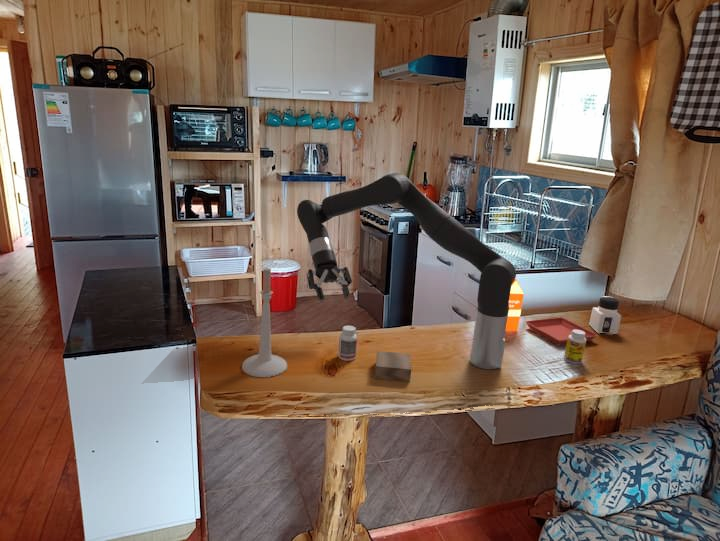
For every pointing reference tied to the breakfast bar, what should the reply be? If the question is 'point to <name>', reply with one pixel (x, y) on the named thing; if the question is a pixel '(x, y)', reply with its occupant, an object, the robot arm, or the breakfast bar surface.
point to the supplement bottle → (575, 347)
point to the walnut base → (393, 366)
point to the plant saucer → (557, 329)
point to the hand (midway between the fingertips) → (334, 298)
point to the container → (606, 316)
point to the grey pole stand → (265, 341)
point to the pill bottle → (347, 343)
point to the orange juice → (514, 306)
